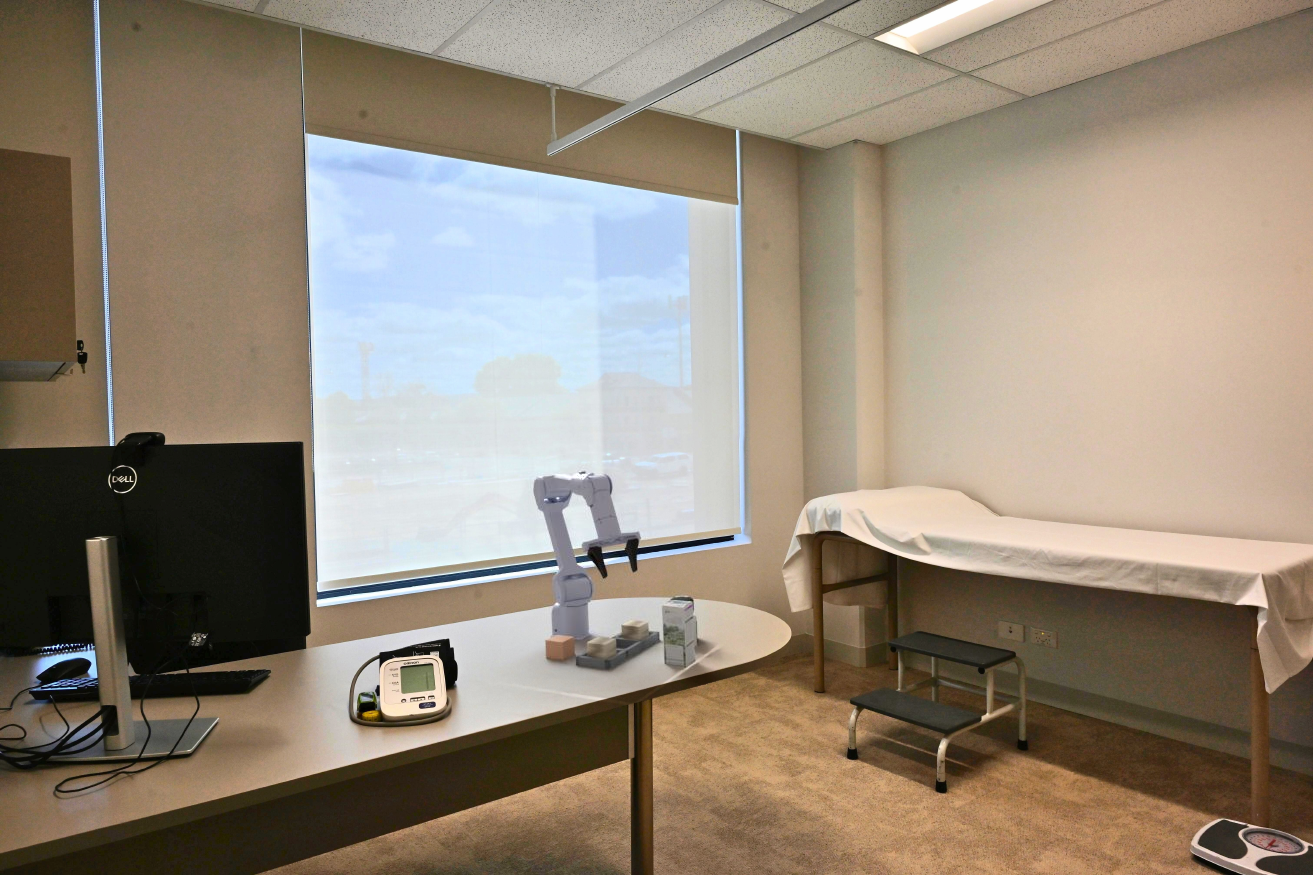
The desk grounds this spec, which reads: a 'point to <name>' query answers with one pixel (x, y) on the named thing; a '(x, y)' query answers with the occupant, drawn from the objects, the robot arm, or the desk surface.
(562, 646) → the terracotta block
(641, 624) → the ash block far
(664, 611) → the syrup box
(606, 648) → the ash block near
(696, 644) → the medicine bottle
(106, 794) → the desk surface
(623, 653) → the organiser tray
